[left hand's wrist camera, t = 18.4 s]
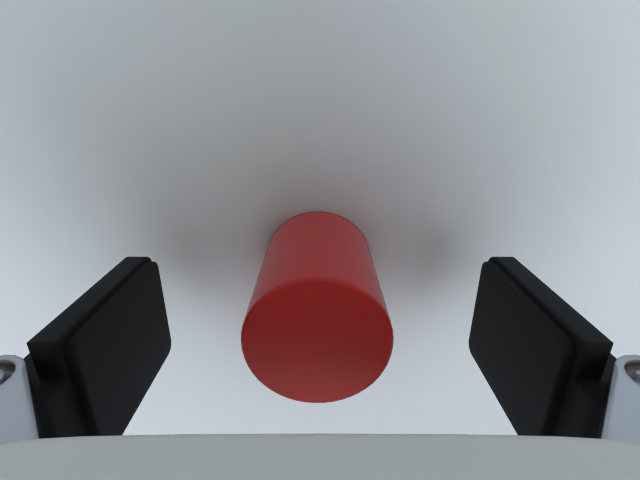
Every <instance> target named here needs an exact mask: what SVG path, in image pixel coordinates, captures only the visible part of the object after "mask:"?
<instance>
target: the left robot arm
mask: <svg viewBox="0 0 640 480" xmlns="http://www.w3.org/2000/svg"><path fill="white" fill-rule="evenodd" d="M27 346H28V349H29V352H30V353H29V354H28V355H27V356H26V357H25V358H24V359H22V358H21V357H18V356H16V355H0V480H640V355H624V356H622V357H619V358H618V359H616V358H615V357H614V356H613V355H612V354H611V353H610V352H611V349H612V346H613V342H612V341H610V340H609V339H608V338H607V337H606V336H605V335H603V334H602V333H601V332H600V331H599V330H598V329H596V328H595V327H594V326H593V325H592V324H591V323H590V322H588V321H587V320H586V319H585V318H584V317H583V316H581V315H580V314H579V313H578V312H577V311H576V310H574V309H573V308H572V307H571V306H570V305H569V304H567V303H566V302H565V301H564V300H563V299H562V298H560V297H559V296H558V295H557V294H556V293H555V292H554V291H552V290H551V289H550V288H549V287H548V286H547V285H545V284H544V283H543V282H542V281H541V280H540V279H538V278H537V277H536V276H535V275H534V274H533V273H531V272H530V271H529V270H528V269H527V268H526V267H525V266H523V265H522V264H521V263H520V262H519V261H518V260H516V259H515V258H514V257H491V258H490V259H489V261H488V262H484V263H483V265H482V269H481V274H480V280H479V286H478V291H477V297H476V303H475V309H474V314H473V320H472V326H471V331H470V337H469V349H470V352H471V354H472V356H473V358H474V359H475V361H476V363H477V365H478V366H479V368H480V370H481V372H482V373H483V375H484V377H485V379H486V380H487V382H488V384H489V385H490V387H491V389H492V391H493V392H494V394H495V396H496V398H497V399H498V401H499V403H500V405H501V406H502V408H503V410H504V412H505V413H506V415H507V417H508V419H509V420H510V422H511V424H512V426H513V427H514V429H515V431H516V432H517V434H518V436H515V435H463V434H177V435H125V436H122V434H123V432H124V431H125V429H126V427H127V426H128V424H129V422H130V420H131V419H132V417H133V415H134V413H135V412H136V410H137V408H138V406H139V405H140V403H141V401H142V399H143V398H144V396H145V394H146V392H147V391H148V389H149V387H150V385H151V384H152V382H153V380H154V379H155V377H156V375H157V373H158V372H159V370H160V368H161V366H162V365H163V363H164V361H165V359H166V358H167V356H168V354H169V352H170V349H171V337H170V331H169V326H168V320H167V314H166V309H165V303H164V297H163V291H162V286H161V280H160V274H159V269H158V265H157V263H156V262H152V261H151V259H150V258H149V257H126V258H125V259H124V260H122V261H121V262H120V263H119V264H118V265H117V266H115V267H114V268H113V269H112V270H111V271H110V272H109V273H107V274H106V275H105V276H104V277H103V278H102V279H100V280H99V281H98V282H97V283H96V284H95V285H93V286H92V287H91V288H90V289H89V290H88V291H86V292H85V293H84V294H83V295H82V296H81V297H80V298H78V299H77V300H76V301H75V302H74V303H73V304H71V305H70V306H69V307H68V308H67V309H66V310H64V311H63V312H62V313H61V314H60V315H59V316H57V317H56V318H55V319H54V320H53V321H52V322H50V323H49V324H48V325H47V326H46V327H45V328H44V329H42V330H41V331H40V332H39V333H38V334H37V335H35V336H34V337H33V338H32V339H31V340H30V341H28V342H27Z"/></svg>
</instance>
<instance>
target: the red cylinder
mask: <svg viewBox="0 0 640 480" xmlns="http://www.w3.org/2000/svg"><path fill="white" fill-rule="evenodd" d="M393 339H394V338H393V329H392V325H391V321H390V318H389V315H388V311H387V308H386V305H385V301H384V298H383V295H382V291H381V288H380V285H379V281H378V278H377V275H376V271H375V268H374V265H373V261H372V258H371V255H370V251H369V248H368V245H367V242H366V240H365V238H364V236H363V235H362V233H361V232H360V231H359V229H358V228H357V227H356V226H355V225H353V224H352V223H351V222H349V221H348V220H346V219H345V218H343V217H341V216H338V215H335V214H331V213H327V212H310V213H304V214H301V215H298V216H296V217H293V218H291V219H290V220H288V221H287V222H285V223H284V224H283V225H281V226H280V228H279V229H278V230H277V231H276V232H275V233H274V235H273V236H272V238H271V240H270V243H269V245H268V248H267V251H266V254H265V258H264V261H263V264H262V267H261V270H260V273H259V276H258V279H257V282H256V285H255V288H254V292H253V295H252V298H251V301H250V304H249V307H248V310H247V313H246V316H245V319H244V323H243V326H242V331H241V345H242V351H243V354H244V358H245V360H246V362H247V365H248V367H249V368H250V370H251V371H252V373H253V374H254V375H255V376H256V378H257V379H258V380H259V381H260V382H262V383H263V384H264V385H265V386H266V387H268V388H269V389H271V390H272V391H274V392H276V393H278V394H279V395H282V396H284V397H287V398H290V399H293V400H297V401H302V402H310V403H325V402H333V401H338V400H342V399H345V398H348V397H351V396H353V395H355V394H357V393H359V392H361V391H362V390H364V389H366V388H367V387H368V386H370V385H371V384H372V383H373V382H374V381H375V380H376V379H377V378H378V377H379V376H380V375H381V373H382V372H383V371H384V369H385V367H386V366H387V364H388V361H389V359H390V356H391V353H392V349H393Z"/></svg>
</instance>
